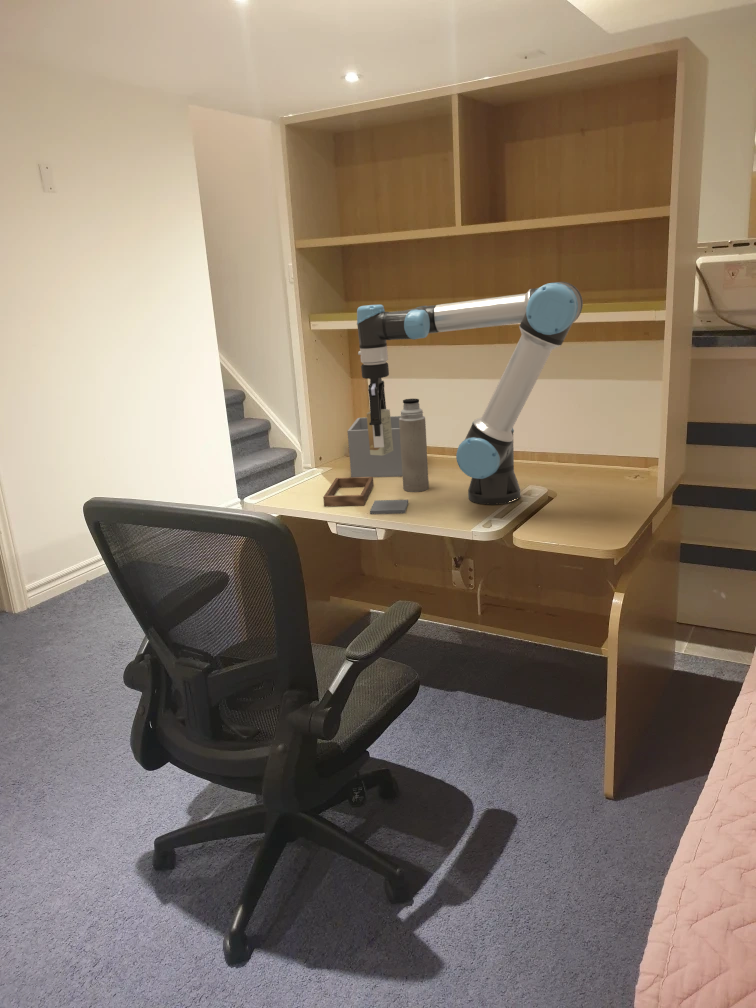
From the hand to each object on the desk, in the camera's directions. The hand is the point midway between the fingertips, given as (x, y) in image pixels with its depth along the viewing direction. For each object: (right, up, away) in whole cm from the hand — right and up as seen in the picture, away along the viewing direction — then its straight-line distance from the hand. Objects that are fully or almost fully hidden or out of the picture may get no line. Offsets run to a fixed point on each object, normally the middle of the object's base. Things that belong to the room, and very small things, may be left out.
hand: (381, 443), depth 220 cm
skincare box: (0, -3, +1) cm, 3 cm away
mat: (+2, -18, +4) cm, 19 cm away
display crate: (+2, -5, +48) cm, 48 cm away
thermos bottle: (+11, -12, +22) cm, 27 cm away
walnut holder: (-10, -15, +19) cm, 26 cm away
